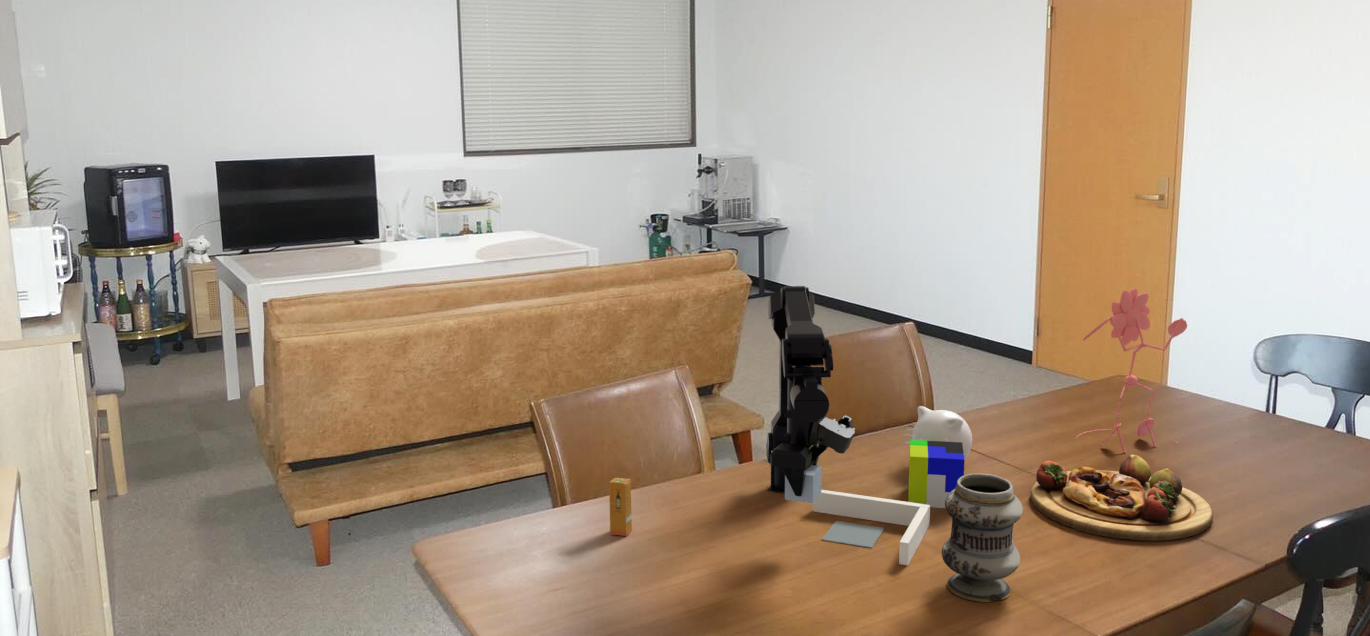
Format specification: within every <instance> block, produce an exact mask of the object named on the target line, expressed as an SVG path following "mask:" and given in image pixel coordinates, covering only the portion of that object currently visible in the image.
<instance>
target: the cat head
mask: <svg viewBox="0 0 1370 636" xmlns="http://www.w3.org/2000/svg"><path fill="white" fill-rule="evenodd" d="M917 416H918V417H917V418H918V419H917V422H916V423H915V424H914V427H912V428H905V429H903V431H910V432H912V434H911V433H910V434H909V433H901V435H902V436H904V437H909V438H911V440H924V441H943V442H962V445H963V452H964V459H965V460H966V458H968V456H969V454H970V452H971V450H972V447H973V446H972V445H973V435H972V430H971V428H970V426H969V425H968V422H967V421H966V420H965V419H964V418H963V417H962V416H961V415H959V414H958V413H955V412H954V411H950V410H946V409H936V410H932V409H929V408H928V407H925V406H923V405H919V406H918V407H917ZM900 445H910V441H904V442H901V443H900Z"/></svg>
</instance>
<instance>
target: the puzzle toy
mask: <svg viewBox="0 0 1370 636" xmlns="http://www.w3.org/2000/svg"><path fill="white" fill-rule="evenodd" d="M909 442H910V444H909V460H908V461H909V463H908V464H909V465H908V491H907V492H908V495H907V496H908V498H907V499H908V501H907V502H912V503H919V504H926V505H930V508H933V509H935V508H937V509H946V508H945V500H946V497H947V496H948V494H949V493H950V492H951V491H953V490H954V489H955V488H956V486H957V481H958V479H959V478H960V477H962V476H964V475H965V460H966V459H964V452H963V445H962V442H943V441H924V440H912V439H909Z"/></svg>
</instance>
